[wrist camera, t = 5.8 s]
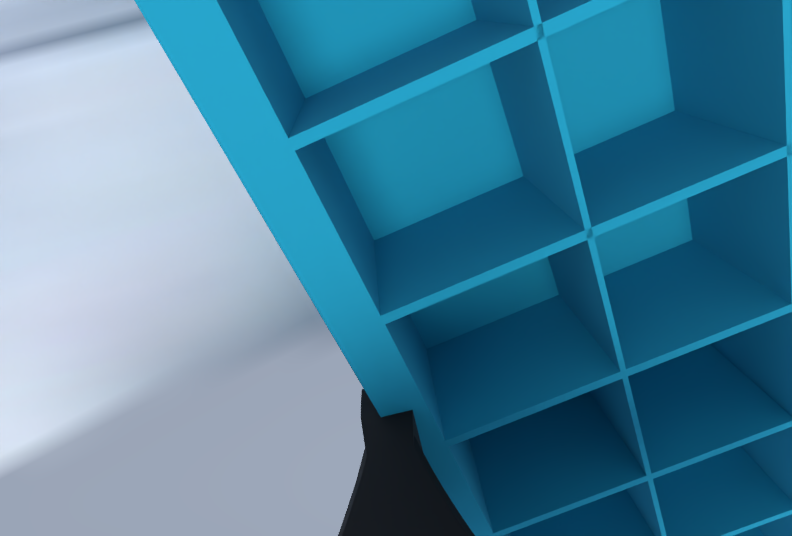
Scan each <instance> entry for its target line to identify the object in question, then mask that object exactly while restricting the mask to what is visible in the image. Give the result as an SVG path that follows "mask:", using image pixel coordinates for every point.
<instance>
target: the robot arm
mask: <svg viewBox="0 0 792 536" xmlns="http://www.w3.org/2000/svg"><path fill="white" fill-rule="evenodd" d="M361 422H362V428H363V435H364V442H365V450H364V454H363V458H362V462H361V466H360V469H359V473H358V477H357V481H356V484H355V487H354V490H353V493H352V496H351V499H350V502H349V505H348V509H347V511H346V514H345V517H344V520H343V523H342V526H341V529H340V532H339V535H338V536H475V535H474V533H473V532H472V531H471V529H470V528H469V526H468V525H467V523H466V522H465V520H464V519H463V518H462V516H461V514H460V513H459V511H458V510H457V508H456V507H455V505H454V504H453V502H452V501H451V499H450V498H449V496H448V494H447V493H446V491H445V490H444V488H443V486H442V485H441V483H440V481H439V480H438V478H437V476H436V475H435V473H434V471H433V470H432V468H431V466H430V464H429V462H428V460H427V459H426V457H425V455H424V453H423V450H422V446H421V442H420V437H419V433H418V429H417V425H416V421H415V417H414V413H413V410H409V411H405V412H401V413H396V414H392V415H388V416H384V417H380V415H379V413H378V412H377V410H376V408H375V407H374V405H373V403H372V402H371V400H370V398H369V397H368V395H367V393H366V391H365V390H364V389H362V397H361Z"/></svg>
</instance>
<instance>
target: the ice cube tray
mask: <svg viewBox="0 0 792 536" xmlns="http://www.w3.org/2000/svg"><path fill="white" fill-rule="evenodd" d="M135 2H136V4H137V5H138V7H139V9H140V11H141V12H142V14H143V16H144V17H145V19H146V21H147V22H148V24H149V26H150V27H151V29H152V31H153V33H154V34H155V36H156V38H157V39H158V41H159V43H160V44H161V46H162V48H163V49H164V51H165V53H166V55H167V56H168V58H169V60H170V61H171V63H172V65H173V66H174V68H175V70H176V71H177V73H178V75H179V77H180V78H181V80H182V82H183V83H184V85H185V87H186V88H187V90H188V92H189V93H190V95H191V97H192V99H193V100H194V102H195V104H196V105H197V107H198V109H199V110H200V112H201V114H202V115H203V117H204V119H205V121H206V122H207V124H208V126H209V127H210V129H211V131H212V132H213V134H214V136H215V137H216V139H217V141H218V143H219V144H220V146H221V148H222V149H223V151H224V153H225V154H226V156H227V158H228V159H229V161H230V163H231V165H232V166H233V168H234V170H235V171H236V173H237V175H238V176H239V178H240V180H241V181H242V183H243V185H244V187H245V188H246V190H247V192H248V193H249V195H250V197H251V198H252V200H253V202H254V204H255V205H256V207H257V209H258V210H259V212H260V214H261V215H262V217H263V219H264V220H265V222H266V224H267V226H268V227H269V229H270V231H271V232H272V234H273V236H274V237H275V239H276V241H277V242H278V244H279V246H280V248H281V249H282V251H283V253H284V254H285V256H286V258H287V259H288V261H289V263H290V264H291V266H292V268H293V270H294V271H295V273H296V275H297V276H298V278H299V280H300V281H301V283H302V285H303V286H304V288H305V290H306V292H307V293H308V295H309V297H310V298H311V300H312V302H313V303H314V305H315V307H316V308H317V310H318V312H319V314H320V315H321V317H322V319H323V320H324V322H325V324H326V325H327V327H328V329H329V330H330V332H331V334H332V336H333V337H334V339H335V341H336V342H337V344H338V346H339V347H340V349H341V351H342V352H343V354H344V356H345V357H346V359H347V361H348V363H349V364H350V366H351V368H352V369H353V371H354V373H355V375H356V376H357V378H358V380H359V381H360V383H361V384H362V386H363V388H364V390H365V391H366V393H367V395H368V397H369V398H370V400H371V402H372V403H373V405H374V407H375V408H376V410H377V412H378V413H379V415H380V417H384V416H388V415H392V414H396V413H401V412H405V411H409V410H413V413H414V417H415V421H416V425H417V429H418V433H419V437H420V442H421V446H422V450H423V453H424V455H425V457H426V459H427V460H428V462H429V464H430V466H431V468H432V470H433V471H434V473H435V475H436V476H437V478H438V480H439V481H440V483H441V485H442V486H443V488H444V490H445V491H446V493H447V494H448V496H449V498H450V499H451V501H452V502H453V504H454V505H455V507H456V508H457V510H458V511H459V513H460V514H461V516H462V518H463V519H464V520H465V522H466V523H467V525H468V526H469V528H470V529H471V531H472V532H473V533H474V535H475V536H792V0H135Z"/></svg>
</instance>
